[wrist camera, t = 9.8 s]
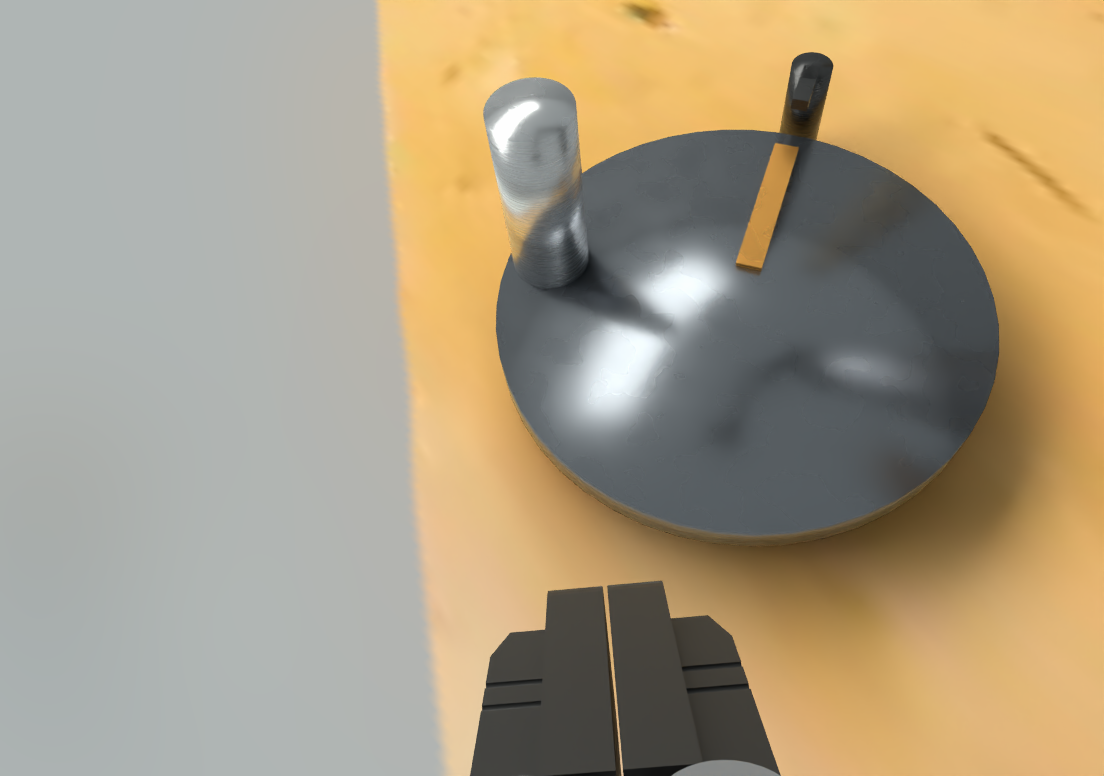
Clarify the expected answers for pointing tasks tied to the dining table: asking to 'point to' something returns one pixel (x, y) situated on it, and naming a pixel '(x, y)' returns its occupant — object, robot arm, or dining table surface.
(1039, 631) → the dining table surface
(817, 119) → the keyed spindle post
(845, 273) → the turntable
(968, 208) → the dining table surface
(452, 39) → the dining table surface
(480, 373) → the dining table surface
